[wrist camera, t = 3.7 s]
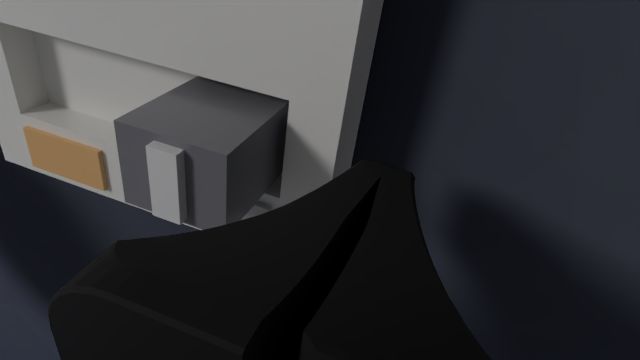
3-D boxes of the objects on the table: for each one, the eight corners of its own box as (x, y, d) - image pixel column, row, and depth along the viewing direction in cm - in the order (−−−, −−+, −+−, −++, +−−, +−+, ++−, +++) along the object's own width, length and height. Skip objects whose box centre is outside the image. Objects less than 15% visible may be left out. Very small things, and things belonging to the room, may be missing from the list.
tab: (204, 142, 15) (116, 208, 11) (202, 73, 13) (103, 124, 10) (286, 167, 14) (219, 245, 11) (293, 97, 13) (219, 161, 9)
